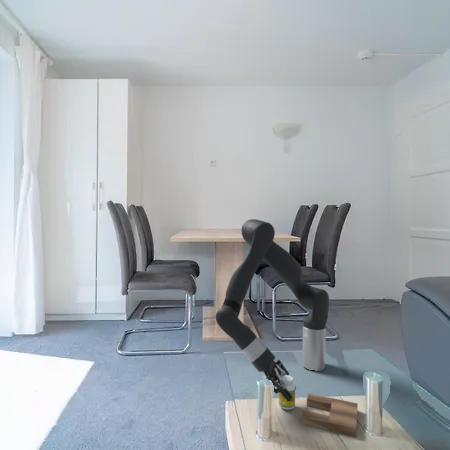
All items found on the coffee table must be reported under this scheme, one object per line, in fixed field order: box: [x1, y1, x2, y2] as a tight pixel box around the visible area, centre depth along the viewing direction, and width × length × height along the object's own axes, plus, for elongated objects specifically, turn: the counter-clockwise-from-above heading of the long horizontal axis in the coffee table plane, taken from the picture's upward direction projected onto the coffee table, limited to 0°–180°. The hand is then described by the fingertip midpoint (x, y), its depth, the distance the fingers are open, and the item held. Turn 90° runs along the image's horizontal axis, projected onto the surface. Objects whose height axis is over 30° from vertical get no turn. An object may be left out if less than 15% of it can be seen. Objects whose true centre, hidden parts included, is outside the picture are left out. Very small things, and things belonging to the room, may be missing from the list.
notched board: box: [300, 393, 359, 438], centre depth 115 cm, size 14×16×2 cm
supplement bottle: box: [278, 374, 296, 410], centre depth 120 cm, size 5×5×10 cm
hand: (292, 394), depth 119 cm, fingers closed on supplement bottle, 5 cm apart
